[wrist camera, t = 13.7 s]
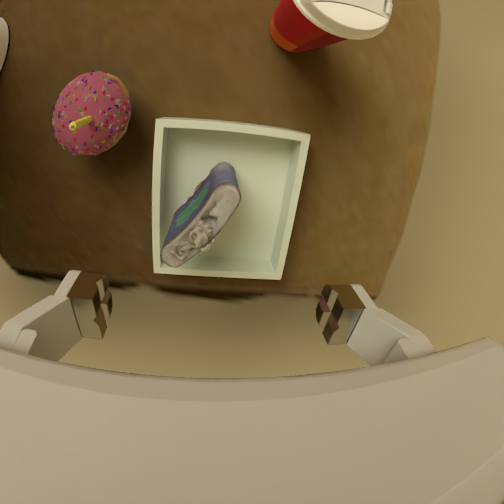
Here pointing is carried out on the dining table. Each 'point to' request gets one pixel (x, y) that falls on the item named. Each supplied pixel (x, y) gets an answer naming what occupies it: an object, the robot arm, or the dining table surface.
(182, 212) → the flask
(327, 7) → the paper cup
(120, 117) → the cupcake
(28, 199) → the dining table surface
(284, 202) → the serving bin
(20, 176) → the dining table surface
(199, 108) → the dining table surface
